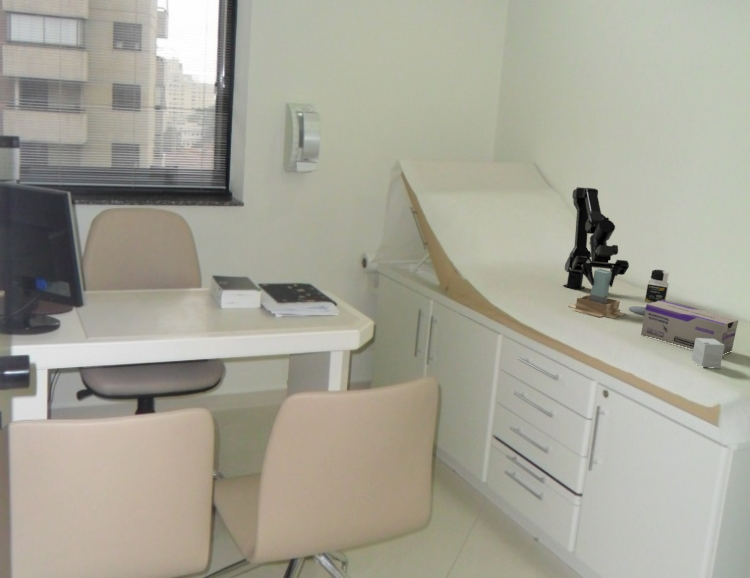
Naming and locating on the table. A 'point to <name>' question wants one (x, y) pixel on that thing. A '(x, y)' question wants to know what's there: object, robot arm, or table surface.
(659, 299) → the medicine bottle
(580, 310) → the carton
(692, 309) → the surgical sutures box
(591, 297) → the slim box
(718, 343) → the skincare box
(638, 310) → the mat
